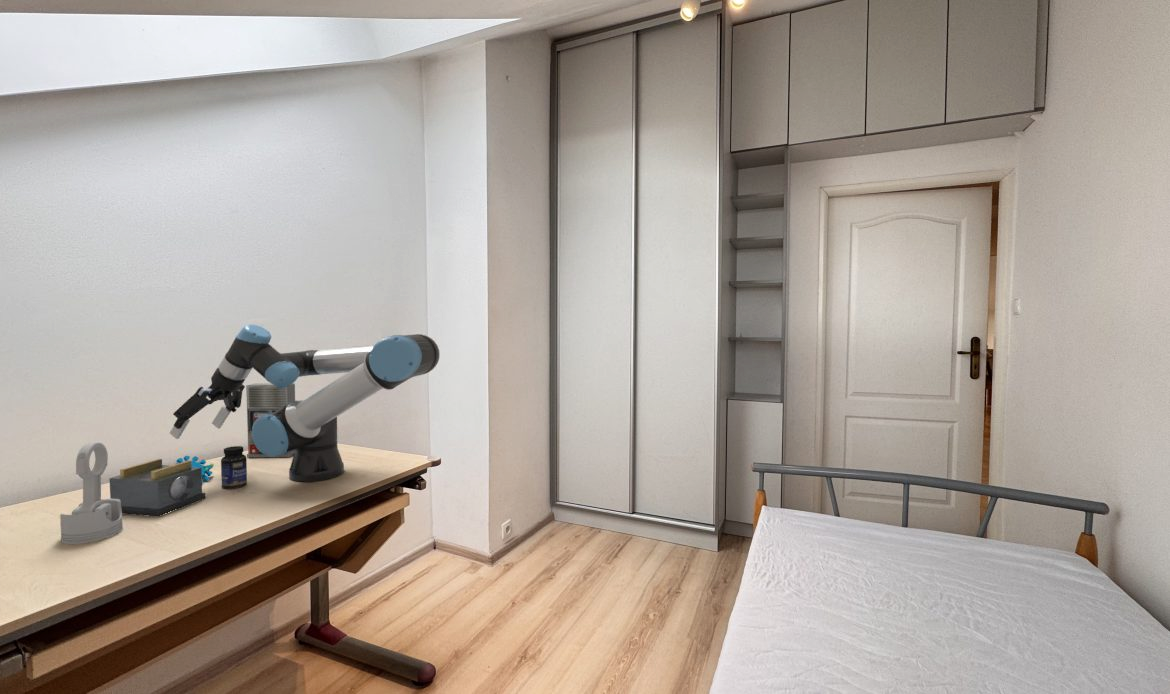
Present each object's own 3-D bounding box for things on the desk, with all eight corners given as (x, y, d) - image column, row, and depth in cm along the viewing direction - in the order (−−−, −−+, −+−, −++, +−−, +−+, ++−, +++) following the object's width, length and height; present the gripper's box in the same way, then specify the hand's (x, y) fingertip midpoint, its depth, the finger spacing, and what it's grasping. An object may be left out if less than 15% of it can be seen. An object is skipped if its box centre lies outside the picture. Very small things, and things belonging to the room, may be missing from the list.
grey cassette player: (246, 458, 179) (244, 385, 177) (256, 453, 185) (254, 383, 183) (288, 458, 180) (287, 385, 178) (297, 453, 186) (295, 383, 184)
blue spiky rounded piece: (184, 483, 147) (169, 456, 150) (172, 497, 148) (158, 469, 151) (222, 477, 157) (208, 451, 160) (211, 490, 158) (197, 464, 161)
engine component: (49, 546, 111) (107, 541, 114) (44, 451, 110) (102, 448, 112) (82, 526, 121) (134, 522, 124) (77, 439, 120) (130, 437, 123)
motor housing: (205, 498, 140) (204, 459, 140) (159, 516, 127) (157, 474, 127) (157, 494, 143) (156, 456, 142) (107, 512, 130) (105, 470, 129)
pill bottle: (235, 489, 147) (233, 451, 147) (216, 488, 148) (214, 450, 148) (252, 483, 153) (251, 445, 153) (234, 481, 154) (232, 444, 154)
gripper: (256, 361, 162) (222, 414, 165) (182, 369, 138) (144, 431, 141) (274, 376, 161) (240, 429, 164) (202, 386, 137) (164, 449, 140)
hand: (195, 430), depth 153 cm, fingers open, 13 cm apart
